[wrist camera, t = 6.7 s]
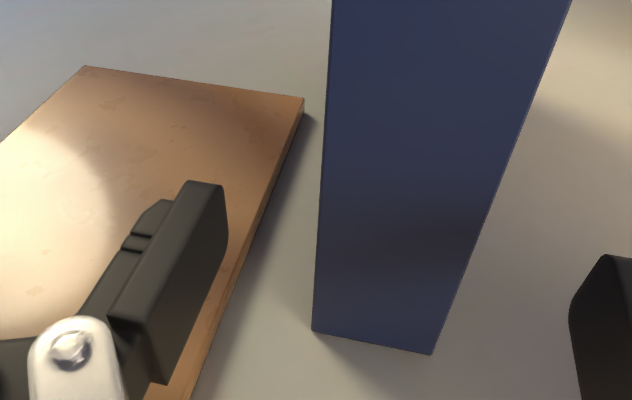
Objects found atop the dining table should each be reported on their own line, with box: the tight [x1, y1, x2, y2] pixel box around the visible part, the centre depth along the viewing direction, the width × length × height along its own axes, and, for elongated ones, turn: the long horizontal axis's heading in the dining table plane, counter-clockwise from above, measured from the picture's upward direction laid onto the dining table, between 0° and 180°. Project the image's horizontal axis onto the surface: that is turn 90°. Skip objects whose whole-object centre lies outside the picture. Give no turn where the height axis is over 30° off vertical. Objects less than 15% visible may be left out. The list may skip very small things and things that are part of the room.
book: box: [311, 0, 572, 355], centre depth 19 cm, size 20×4×13 cm, turn 168°
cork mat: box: [0, 65, 304, 400], centre depth 19 cm, size 20×12×1 cm, turn 168°
